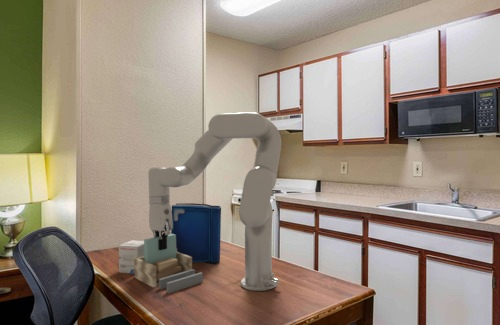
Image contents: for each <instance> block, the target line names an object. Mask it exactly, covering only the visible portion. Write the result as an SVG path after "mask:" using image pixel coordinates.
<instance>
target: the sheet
mask: <svg viewBox="0 0 500 325" xmlns="http://www.w3.org/2000/svg"><path fill="white" fill-rule="evenodd" d="M158 240H159V237H155V238H154V237H151V238H145V239H144V240H143V241H144V254H145V262H148V263H150V264H152V265H153V262H157V261H161V260H164V259H168V258H171V257H172V258H175V259H177V258H176V235H175V234H171V233H170V234H169V235H168V238H167V249H164V250H159V241H158Z"/></svg>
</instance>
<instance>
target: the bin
mask: <svg viewBox="0 0 500 325" xmlns="http://www.w3.org/2000/svg"><path fill="white" fill-rule="evenodd" d="M176 258H177V259H178V265H179V266H181V267H182V272H185V271H188V270H191V269H193V262H192V257H190V256H188V255H185V254H182V253H179V252H177V251H176ZM134 278H135V279H136V280H138V281H141V282H142V283H143V284H146V285H148V286H150V287H152V288H153V289H154V288H158V287H159V283H156V266H154V265H152V264H150V263H148V262H145V256H143V257H139V258H134Z"/></svg>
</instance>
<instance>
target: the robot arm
mask: <svg viewBox="0 0 500 325" xmlns="http://www.w3.org/2000/svg"><path fill="white" fill-rule="evenodd" d="M207 127H208V130H206V131H205V132H204V134H202V135H201V137H199V138H198V139H197V140H196V141H195V143H194V151H193V153H192V154H191V156H190V157H189V158H188V159H187V160H186V162H184V163H183V164H182V165H181V166H171V167H163V166H161V167H160V166H159V167H150V168H149V169H148V173H147V174H148V204H149V210H148V224H149V228H150V231H151V232H152V233H153V234H152V235H153V237H152V238H155V237H159V240H158V241H159V250H164V249H167V238H168V235H169V234H171V230H172V229H173V220H172V205H171V203H170V202H171V201H170V200H171V197H170V188H180V187H182V186H187V185H190V184H191V183H192V182H193V181H195V180H196V179H197V178H198V177H199V176H200V175H201V173H203V172H204V170H206V168H207V167H208V166H209V164H210V163H211V162H212V160H213V159H214V158H215V157H216V156H217V155H218V154H219V153H220V152H221V151H222V150H223V149H224V148H225V147H226V146H227V145H228V144H229V143H230V142H231V141H232V140H234V139H254V140H256V141H257V148H256V151H255V159H254V164H253V167H252V168H251V169H250V170H249V171H248V172H247V173H246V175H245V178H244V182H243V187H242V193H241V198H240V202H239V203H240V204H239V210H238V212H239V213H238V214H239V219H240V221H241V222H242V224H243V225H244V226H245V227H244V277H243V278H241V280H240V285H241V287H242V288H244V289H245V290H249V291H255V292H256V291H257V292H264V291H265V292H266V291H269V290H271V289H273V288H277V287H278V284H280V279H279V278H275V273H274V272H273V271H272V270H273V269H272V268H273V267H272V266H273V263H272V262H273V260H272V257H273V256H272V254H273V253H272V252H273V250H272V247H273V246H272V244H273V243H272V241H273V240H272V238H273V236H272V234H273V231H272V230H273V229H272V228H273V227H272V226H273V206H272V202H271V197H272V193H273V189H274V188H275V186H276V185H277V177H278V171H279V165H280V164H279V163H280V156H281V151H282V136H281V133H280V131H279V129H278V127H277V126H276V125H275V123H273V122H272V121H270V120H269V119H268V118H267V117H265V116H264V115H262V114H260V113H258V112H251V111H250V112H237V113H236V112H235V113H232V112H230V113H229V112H227V113H217V114H215V115H213V116H212V117H211V118H210V120H209V122H208V125H207Z"/></svg>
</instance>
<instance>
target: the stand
mask: <svg viewBox="0 0 500 325" xmlns="http://www.w3.org/2000/svg"><path fill="white" fill-rule="evenodd" d="M200 283H201V284H202V283H204V273H203V272H201V271H200V272H198V273H196V270H195V269H194V268H192V269H191V270H188V271H185V272H181V273H178V274H174V275H171V276H168V277H164V278H161V279H159V286H158V289H159V290H164V289H166V290H165V292H166V293H167V294H168V295H169V294H171V293H174V292H177V291H180V290H184V289H186V288H190V287H192V286H193V287H194V286H195V285H198V284H200Z"/></svg>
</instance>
